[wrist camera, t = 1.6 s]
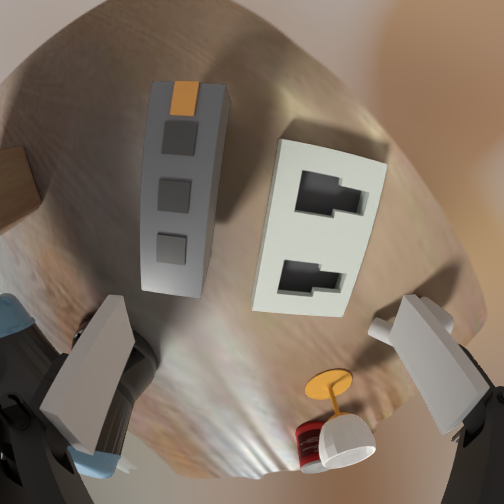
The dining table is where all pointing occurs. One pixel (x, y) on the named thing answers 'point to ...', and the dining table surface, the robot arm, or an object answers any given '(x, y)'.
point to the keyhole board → (315, 229)
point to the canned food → (310, 447)
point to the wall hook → (383, 328)
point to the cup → (340, 423)
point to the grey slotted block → (181, 184)
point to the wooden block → (16, 188)
